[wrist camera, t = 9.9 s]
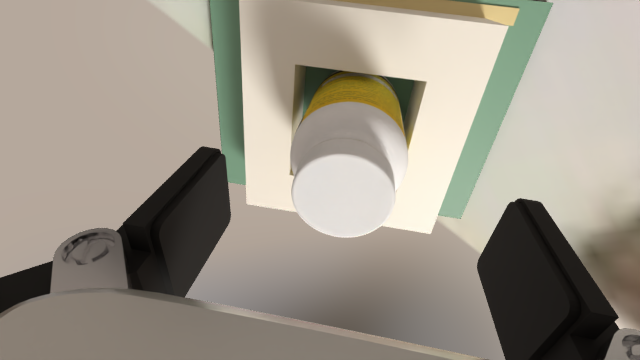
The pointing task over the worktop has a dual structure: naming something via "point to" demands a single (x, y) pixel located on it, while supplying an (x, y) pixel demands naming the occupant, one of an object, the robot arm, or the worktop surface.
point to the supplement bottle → (349, 155)
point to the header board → (378, 59)
